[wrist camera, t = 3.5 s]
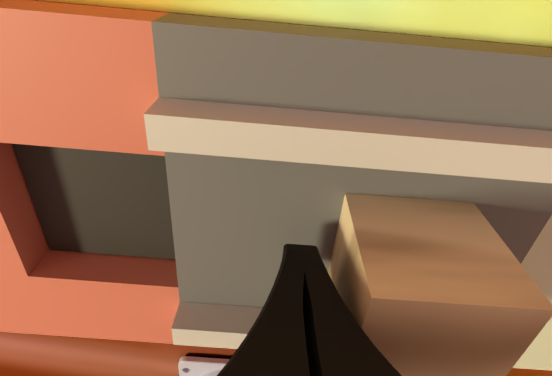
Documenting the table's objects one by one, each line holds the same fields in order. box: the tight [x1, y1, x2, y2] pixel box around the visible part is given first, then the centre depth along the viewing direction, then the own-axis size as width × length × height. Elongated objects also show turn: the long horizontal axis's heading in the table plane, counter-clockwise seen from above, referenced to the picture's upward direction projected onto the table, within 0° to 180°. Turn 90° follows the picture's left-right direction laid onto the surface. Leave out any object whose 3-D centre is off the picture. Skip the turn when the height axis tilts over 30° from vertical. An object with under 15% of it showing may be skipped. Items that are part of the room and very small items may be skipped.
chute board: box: [0, 0, 552, 371], centre depth 15 cm, size 16×42×4 cm, turn 85°
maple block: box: [328, 193, 552, 376], centre depth 13 cm, size 5×5×5 cm
